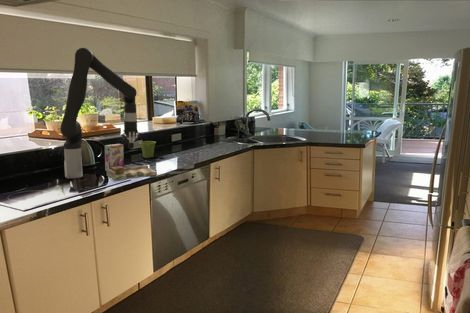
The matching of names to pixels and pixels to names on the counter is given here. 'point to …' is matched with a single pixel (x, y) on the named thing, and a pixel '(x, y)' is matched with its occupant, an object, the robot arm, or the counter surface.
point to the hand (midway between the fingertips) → (131, 148)
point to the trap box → (131, 172)
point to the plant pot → (148, 148)
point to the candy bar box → (114, 155)
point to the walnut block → (118, 169)
